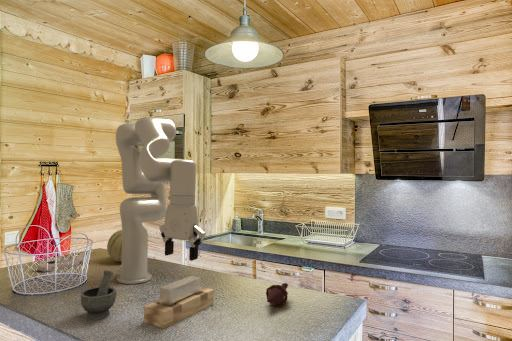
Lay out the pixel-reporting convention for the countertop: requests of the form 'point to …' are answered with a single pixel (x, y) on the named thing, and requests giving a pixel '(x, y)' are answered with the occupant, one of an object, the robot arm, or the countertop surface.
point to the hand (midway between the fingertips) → (181, 257)
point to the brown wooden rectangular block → (177, 309)
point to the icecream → (277, 295)
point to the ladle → (59, 263)
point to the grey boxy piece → (179, 290)
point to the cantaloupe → (115, 246)
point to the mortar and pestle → (99, 298)
